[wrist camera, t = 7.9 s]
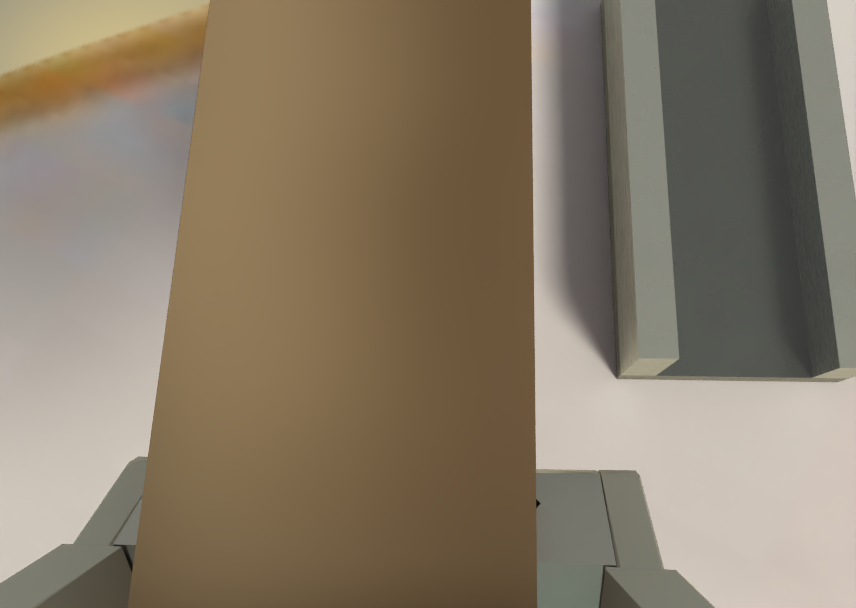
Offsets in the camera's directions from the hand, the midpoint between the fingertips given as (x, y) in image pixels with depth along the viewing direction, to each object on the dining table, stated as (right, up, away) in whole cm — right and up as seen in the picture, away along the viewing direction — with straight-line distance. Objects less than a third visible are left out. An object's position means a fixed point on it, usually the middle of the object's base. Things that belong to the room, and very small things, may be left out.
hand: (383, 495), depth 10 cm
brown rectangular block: (+1, 0, +7) cm, 7 cm away
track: (+14, +9, +23) cm, 29 cm away
